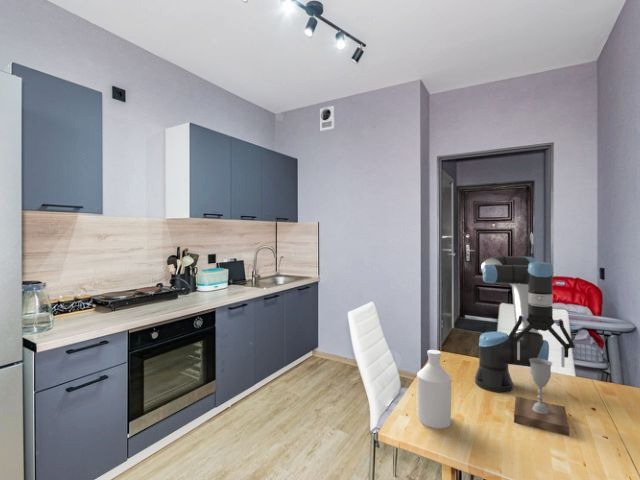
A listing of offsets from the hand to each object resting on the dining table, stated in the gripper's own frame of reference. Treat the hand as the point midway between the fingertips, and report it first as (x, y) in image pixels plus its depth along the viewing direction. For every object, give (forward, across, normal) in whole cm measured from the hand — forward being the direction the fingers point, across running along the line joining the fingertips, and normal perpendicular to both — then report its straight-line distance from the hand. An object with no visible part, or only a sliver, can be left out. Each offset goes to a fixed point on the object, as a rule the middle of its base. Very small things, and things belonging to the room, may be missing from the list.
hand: (540, 362), depth 124 cm
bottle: (+21, -33, -21) cm, 44 cm away
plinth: (+21, 0, 0) cm, 21 cm away
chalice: (+18, 0, 0) cm, 18 cm away
